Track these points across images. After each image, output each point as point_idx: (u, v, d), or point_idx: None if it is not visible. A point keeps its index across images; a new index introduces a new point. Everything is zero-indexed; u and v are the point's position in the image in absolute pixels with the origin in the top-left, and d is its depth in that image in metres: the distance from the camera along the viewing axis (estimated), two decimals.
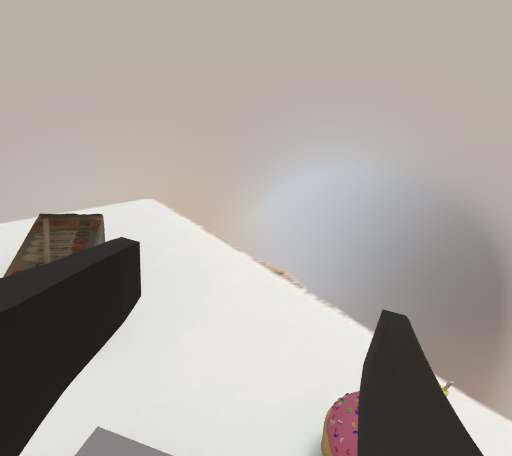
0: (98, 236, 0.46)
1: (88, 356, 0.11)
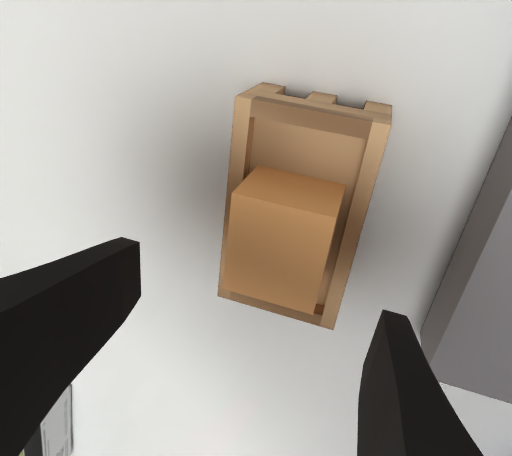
0: None
1: (88, 356, 0.11)
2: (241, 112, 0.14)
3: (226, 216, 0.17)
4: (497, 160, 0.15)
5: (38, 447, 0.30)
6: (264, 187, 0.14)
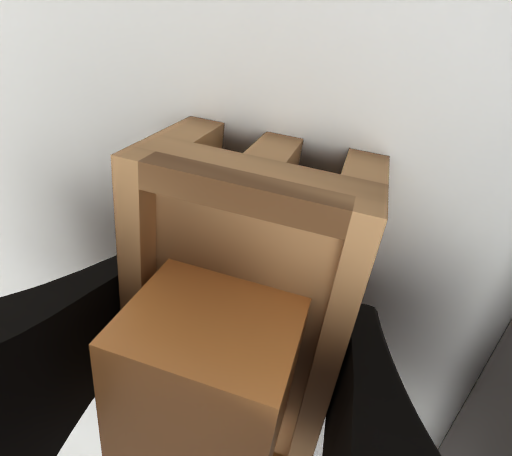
0: None
1: None
2: (124, 182, 0.08)
3: None
4: None
5: None
6: (160, 320, 0.08)
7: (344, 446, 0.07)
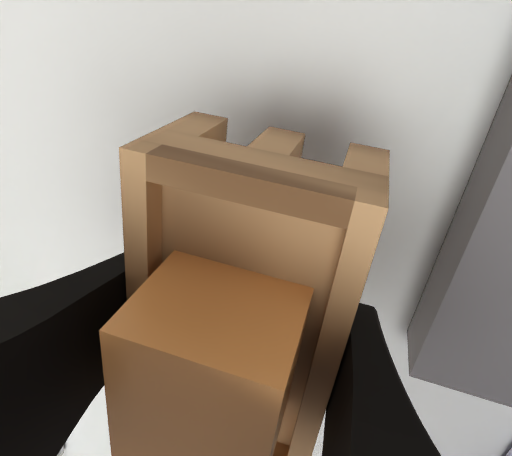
0: None
1: None
2: (132, 174, 0.08)
3: None
4: (480, 160, 0.15)
5: None
6: (167, 308, 0.08)
7: (343, 446, 0.07)
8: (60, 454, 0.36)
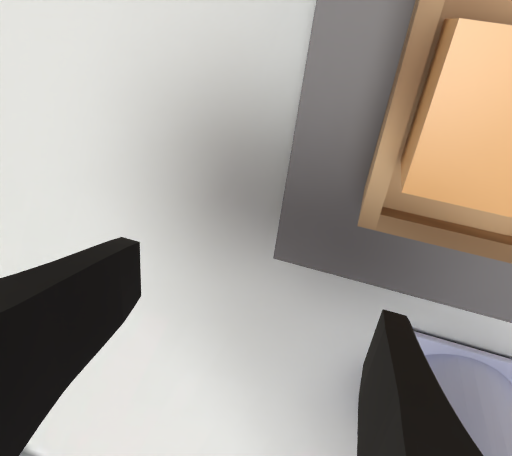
0: None
1: (88, 356, 0.11)
2: None
3: (395, 98, 0.12)
4: None
5: None
6: None
7: None
8: None
